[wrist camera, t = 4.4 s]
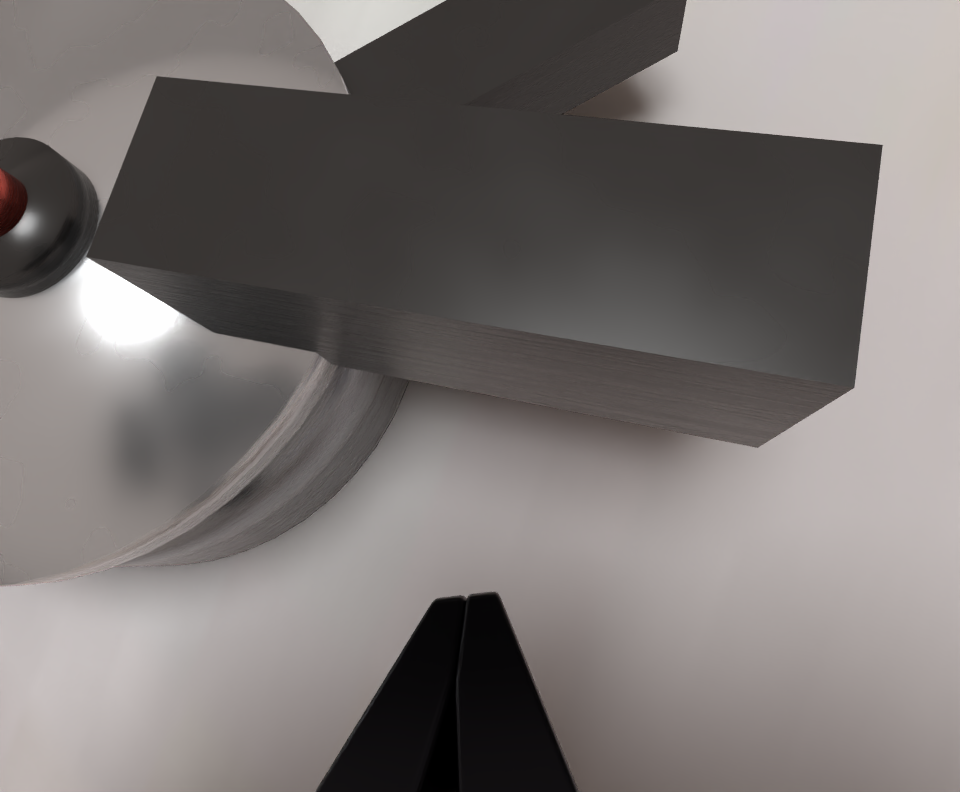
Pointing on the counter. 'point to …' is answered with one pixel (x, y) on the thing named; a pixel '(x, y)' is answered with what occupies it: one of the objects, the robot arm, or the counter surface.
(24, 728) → the counter surface
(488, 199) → the lid
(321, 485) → the grey round flat pan
